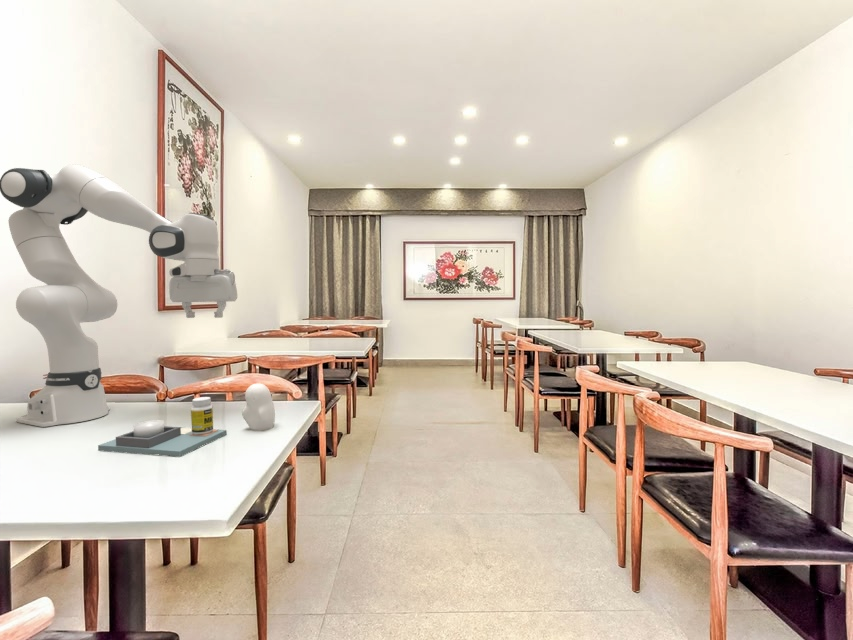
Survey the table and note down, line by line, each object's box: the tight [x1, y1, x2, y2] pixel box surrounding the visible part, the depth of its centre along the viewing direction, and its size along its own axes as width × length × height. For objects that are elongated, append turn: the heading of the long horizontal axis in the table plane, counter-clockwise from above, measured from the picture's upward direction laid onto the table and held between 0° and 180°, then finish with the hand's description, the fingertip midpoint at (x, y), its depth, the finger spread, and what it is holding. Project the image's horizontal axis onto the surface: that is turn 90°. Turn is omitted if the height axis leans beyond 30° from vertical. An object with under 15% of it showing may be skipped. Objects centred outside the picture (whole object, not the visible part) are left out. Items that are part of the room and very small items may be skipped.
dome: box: [132, 419, 165, 438], centre depth 98 cm, size 6×6×4 cm
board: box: [97, 425, 228, 457], centre depth 100 cm, size 22×15×3 cm
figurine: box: [241, 383, 276, 431], centre depth 111 cm, size 7×8×12 cm
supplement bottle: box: [190, 396, 214, 435], centre depth 103 cm, size 5×5×8 cm
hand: (204, 317), depth 121 cm, fingers open, 8 cm apart
